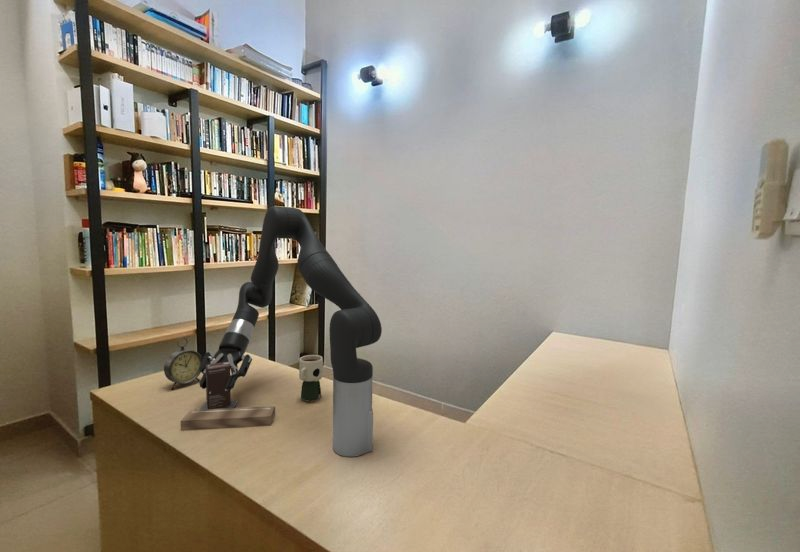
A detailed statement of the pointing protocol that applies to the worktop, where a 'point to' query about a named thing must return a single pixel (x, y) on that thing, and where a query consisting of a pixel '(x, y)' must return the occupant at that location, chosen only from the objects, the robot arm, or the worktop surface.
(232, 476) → the worktop surface
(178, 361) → the alarm clock
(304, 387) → the character mug
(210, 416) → the walnut board
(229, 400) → the box
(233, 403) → the grey mat
